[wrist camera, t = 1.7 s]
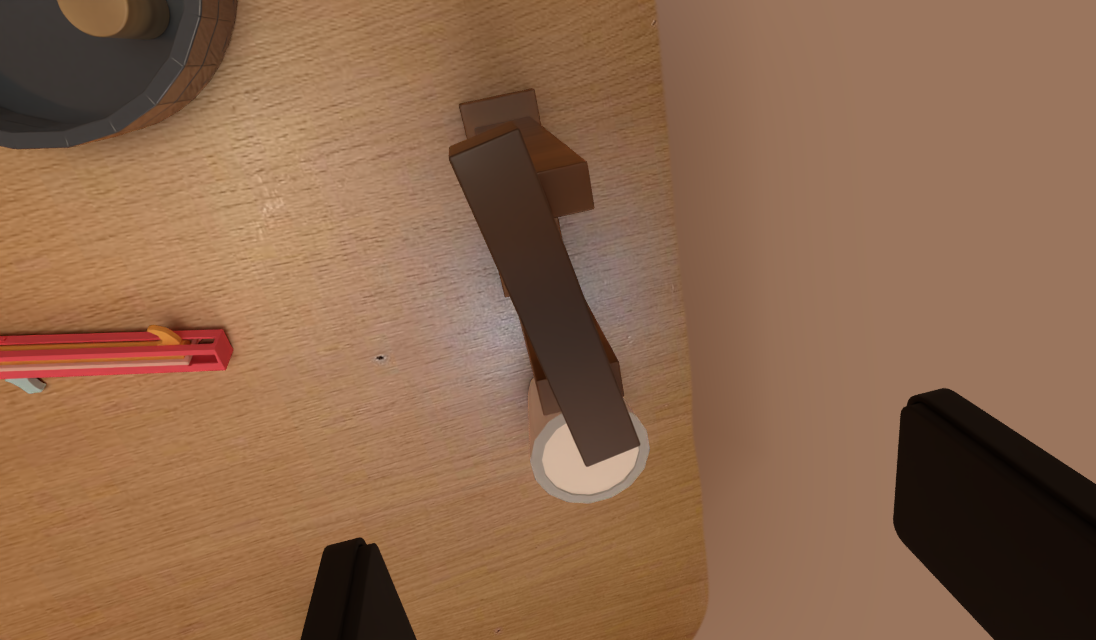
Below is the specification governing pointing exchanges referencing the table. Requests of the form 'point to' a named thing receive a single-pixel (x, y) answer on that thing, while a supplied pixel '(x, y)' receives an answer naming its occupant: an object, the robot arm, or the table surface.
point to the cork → (118, 17)
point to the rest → (561, 185)
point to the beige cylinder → (578, 458)
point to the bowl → (101, 72)
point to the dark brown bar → (544, 288)
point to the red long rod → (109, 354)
